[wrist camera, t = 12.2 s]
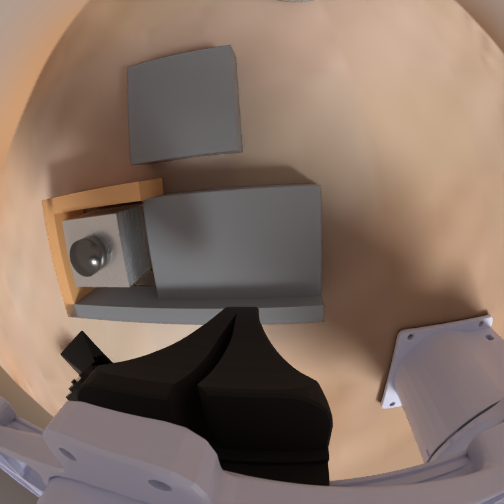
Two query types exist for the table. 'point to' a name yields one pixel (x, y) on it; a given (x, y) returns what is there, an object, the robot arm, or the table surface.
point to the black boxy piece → (82, 360)
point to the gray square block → (184, 106)
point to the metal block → (108, 246)
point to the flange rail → (205, 254)
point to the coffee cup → (295, 0)
